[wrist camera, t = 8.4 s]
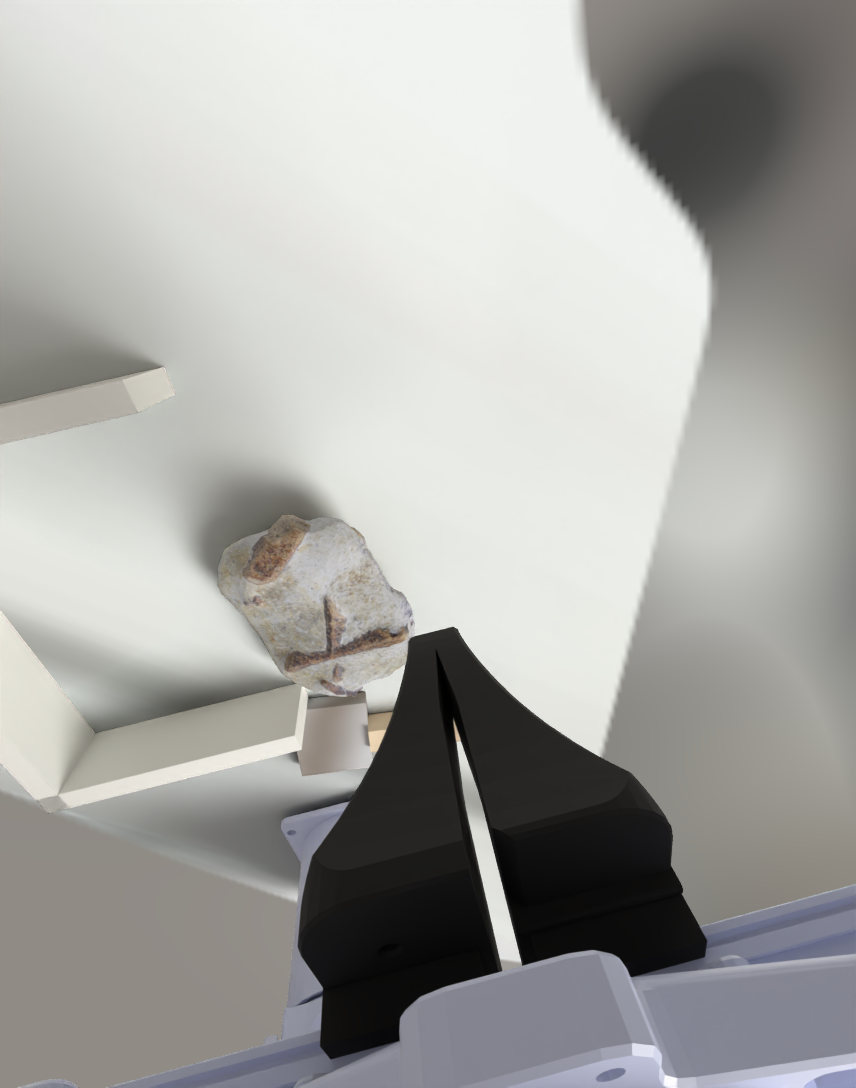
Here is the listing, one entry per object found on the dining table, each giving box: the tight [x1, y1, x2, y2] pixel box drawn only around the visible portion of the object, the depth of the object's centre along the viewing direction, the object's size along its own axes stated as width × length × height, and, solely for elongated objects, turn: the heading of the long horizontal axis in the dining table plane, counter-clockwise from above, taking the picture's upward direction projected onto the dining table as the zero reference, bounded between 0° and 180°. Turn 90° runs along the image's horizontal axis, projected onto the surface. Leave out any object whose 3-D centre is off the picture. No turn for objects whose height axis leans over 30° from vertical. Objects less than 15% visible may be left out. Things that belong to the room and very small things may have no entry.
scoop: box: [297, 692, 461, 776], centre depth 27 cm, size 12×5×1 cm, turn 91°
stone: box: [218, 515, 415, 697], centre depth 21 cm, size 10×7×3 cm
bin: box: [0, 367, 308, 813], centre depth 20 cm, size 17×12×4 cm
